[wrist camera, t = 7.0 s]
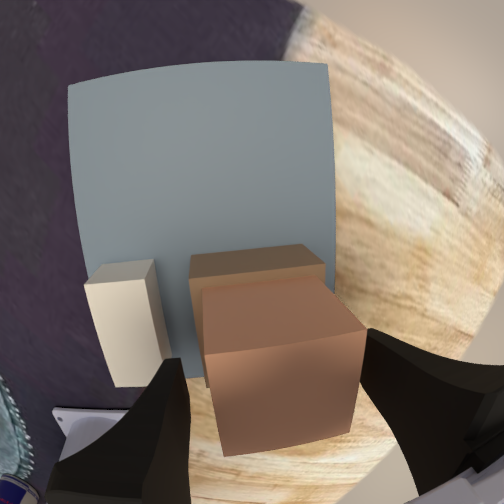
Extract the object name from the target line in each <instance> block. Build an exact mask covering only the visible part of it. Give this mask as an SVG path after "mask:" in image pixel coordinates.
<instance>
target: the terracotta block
mask: <svg viewBox="0 0 504 504" xmlns="http://www.w3.org/2000/svg"><path fill="white" fill-rule="evenodd" d="M202 304H203V336H204V356H205V362H206V368H207V374H208V379H209V385H210V390H211V396H212V401H213V406H214V412H215V417H216V422H217V427H218V432H219V436H220V441H221V446H222V450H223V455H224V457H226V456H235V455H243V454H250V453H257V452H264V451H270V450H275V449H281V448H286V447H291V446H296V445H301V444H306V443H310V442H314V441H319V440H323V439H327V438H331V437H334V436H338V435H342V434H345V433H349V432H350V427H351V423H352V418H353V413H354V408H355V403H356V398H357V393H358V388H359V382H360V376H361V370H362V364H363V357H364V351H365V344H366V336H367V328H366V327H365V326H364V325H363V324H362V323H361V322H360V321H359V320H358V319H357V318H356V317H355V316H354V315H353V314H352V312H351V311H350V310H349V309H348V308H347V307H346V306H345V305H344V304H343V303H342V302H341V301H340V300H339V299H338V298H337V297H336V296H335V295H334V294H333V293H332V292H331V291H330V290H329V288H328V287H327V286H326V285H325V284H324V283H323V282H322V281H321V280H320V279H319V278H318V277H317V276H316V275H312V276H304V277H296V278H287V279H279V280H271V281H262V282H253V283H244V284H235V285H226V286H216V287H206V288H202Z"/></svg>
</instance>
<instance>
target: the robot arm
mask: <svg viewBox="0 0 504 504" xmlns="http://www.w3.org/2000/svg"><path fill="white" fill-rule="evenodd" d="M360 383H361V385H362V387H363V389H364V390H365V392H366V393H367V395H368V396H369V398H370V399H371V400H372V402H373V403H374V405H375V406H376V408H377V409H378V410H379V412H380V413H381V415H382V416H383V418H384V419H385V421H386V422H387V424H388V425H389V427H390V428H391V430H392V432H393V434H394V436H395V438H396V440H397V442H398V444H399V446H400V448H401V450H402V452H403V454H404V457H405V459H406V461H407V464H408V466H409V469H410V471H411V474H412V476H413V479H414V482H415V485H416V488H417V491H418V494H419V497H417V498H415V499H413V500H411V501H408V502H406V503H404V504H504V365H500V366H499V365H482V364H474V363H468V362H462V361H458V360H453V359H449V358H446V357H442V356H439V355H436V354H433V353H430V352H427V351H425V350H422V349H419V348H417V347H415V346H412V345H410V344H408V343H405V342H403V341H401V340H399V339H396V338H394V337H392V336H390V335H388V334H385V333H383V332H381V331H378V330H376V329H373V328H370V329H367V336H366V344H365V351H364V357H363V364H362V370H361V376H360ZM52 413H53V415H54V417H55V419H56V421H57V422H58V424H59V426H60V427H61V429H62V431H63V432H64V434H65V436H66V437H67V439H66V442H65V444H64V447H63V450H62V453H61V456H60V459H59V462H57V463H55V465H54V467H53V470H52V472H51V475H50V479H49V482H48V485H47V489H46V492H45V496H44V497H45V500H46V504H191V497H190V486H189V474H188V459H189V441H190V424H191V412H190V396H189V392H188V388H187V384H186V380H185V375H184V371H183V366H182V362H181V357H180V358H168V359H164V361H163V362H162V364H161V365H160V367H159V369H158V370H157V372H156V374H155V375H154V377H153V378H152V380H151V381H150V383H149V384H148V386H147V387H146V389H145V390H144V392H143V393H142V394H141V396H140V397H139V398H138V400H137V401H136V402H135V403H134V405H133V406H132V407H131V408H130V409H129V410H90V409H70V408H57V407H56V408H54V409H53V411H52Z"/></svg>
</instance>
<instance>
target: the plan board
mask: <svg viewBox="0 0 504 504" xmlns="http://www.w3.org/2000/svg"><path fill="white" fill-rule="evenodd" d="M68 125H69V146H70V160H71V172H72V182H73V191H74V199H75V206H76V213H77V220H78V226H79V232H80V238H81V244H82V249H83V254H84V259H85V264H86V269H87V273H88V278H89V280H88V281H87V282H86V283H85V284H84V287H85V291H86V295H87V299H88V303H89V306H90V310H91V314H92V317H93V321H94V324H95V328H96V331H97V334H98V338H99V341H100V344H101V347H102V350H103V353H104V356H105V359H106V362H107V365H108V368H109V370H110V373H111V376H112V379H113V381H114V384H115V387H140V386H148V384H149V383H150V381H151V380H152V378H153V377H154V375H155V374H156V372H157V370H158V369H159V367H160V365H161V364H162V362H163V361H164V359H168V358H180V357H181V362H182V366H183V371H184V375H185V378H196V377H205V382H206V387H207V388H210V385H209V379H208V374H207V368H206V362H205V356H204V336H203V304H202V288H206V287H216V286H226V285H235V284H244V283H253V282H262V281H271V280H279V279H287V278H296V277H304V276H312V275H316V276H317V277H318V278H319V279H320V280H321V281H322V282H323V283H324V284H325V285H326V286H327V287H328V288H329V290H330V291H331V292H332V293H333V294H334V288H335V251H336V200H335V163H334V141H333V124H332V110H331V97H330V85H329V75H328V65H327V64H323V63H310V62H293V61H224V62H207V63H194V64H183V65H174V66H166V67H158V68H151V69H144V70H138V71H132V72H126V73H121V74H116V75H111V76H106V77H101V78H97V79H93V80H88V81H84V82H80V83H76V84H73V85H69V86H68Z"/></svg>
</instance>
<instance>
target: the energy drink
mask: <svg viewBox="0 0 504 504" xmlns="http://www.w3.org/2000/svg"><path fill="white" fill-rule="evenodd" d="M38 499H39V496H38V494H37V492H36V490H35V489H34V488H33V487H32V486H30V485H29V484H28V483H26V482H25V481H23V480H21V479H20V478H18V477H16V476H13V475H10V474H5V475H2V477H1V479H0V504H37V502H38Z"/></svg>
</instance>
